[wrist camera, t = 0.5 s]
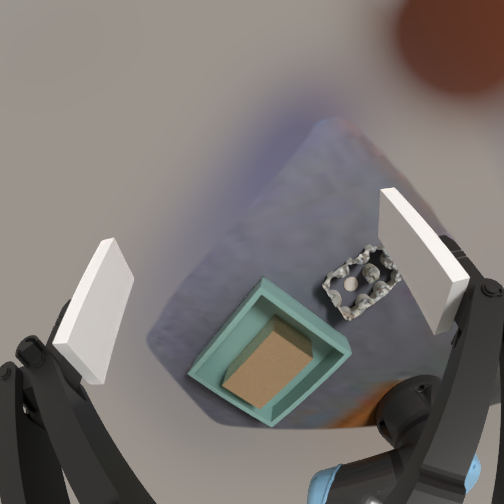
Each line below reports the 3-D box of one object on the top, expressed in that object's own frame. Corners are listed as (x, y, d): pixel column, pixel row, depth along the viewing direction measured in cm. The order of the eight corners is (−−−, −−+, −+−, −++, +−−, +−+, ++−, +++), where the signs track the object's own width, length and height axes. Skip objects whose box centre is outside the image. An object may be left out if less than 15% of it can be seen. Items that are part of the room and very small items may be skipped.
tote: (346, 338, 47) (352, 353, 42) (273, 409, 51) (271, 427, 46) (263, 276, 46) (260, 286, 41) (195, 358, 50) (187, 374, 46)
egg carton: (341, 314, 47) (345, 325, 43) (316, 275, 46) (319, 283, 42) (399, 277, 44) (408, 285, 40) (377, 236, 43) (385, 241, 39)
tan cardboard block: (310, 339, 47) (313, 358, 41) (263, 387, 49) (259, 409, 43) (275, 313, 46) (273, 330, 41) (229, 365, 49) (222, 385, 43)
